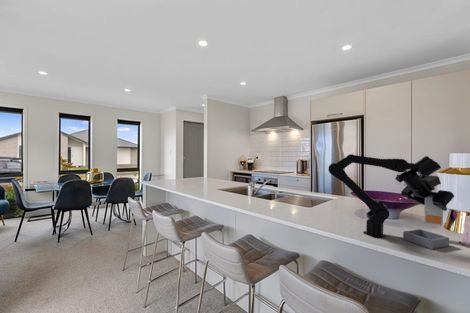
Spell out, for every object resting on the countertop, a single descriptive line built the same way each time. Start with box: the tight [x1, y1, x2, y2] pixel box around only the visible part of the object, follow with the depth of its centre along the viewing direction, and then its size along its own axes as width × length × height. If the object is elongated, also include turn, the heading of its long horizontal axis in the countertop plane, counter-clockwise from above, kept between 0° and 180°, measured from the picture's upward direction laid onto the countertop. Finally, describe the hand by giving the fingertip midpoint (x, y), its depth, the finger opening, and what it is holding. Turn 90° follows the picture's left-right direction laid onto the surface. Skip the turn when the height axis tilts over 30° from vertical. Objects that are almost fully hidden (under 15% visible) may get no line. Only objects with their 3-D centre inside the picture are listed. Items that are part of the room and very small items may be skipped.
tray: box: [402, 228, 450, 251], centre depth 90 cm, size 10×10×4 cm
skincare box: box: [423, 197, 444, 226], centre depth 94 cm, size 6×4×12 cm
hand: (436, 207), depth 94 cm, fingers closed on skincare box, 7 cm apart
